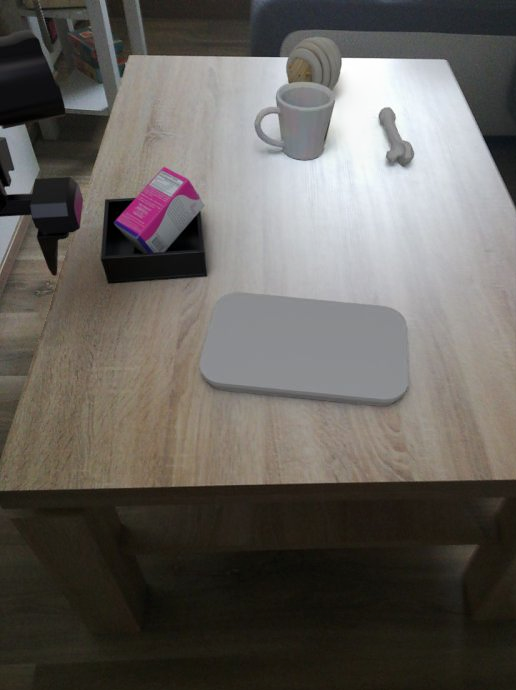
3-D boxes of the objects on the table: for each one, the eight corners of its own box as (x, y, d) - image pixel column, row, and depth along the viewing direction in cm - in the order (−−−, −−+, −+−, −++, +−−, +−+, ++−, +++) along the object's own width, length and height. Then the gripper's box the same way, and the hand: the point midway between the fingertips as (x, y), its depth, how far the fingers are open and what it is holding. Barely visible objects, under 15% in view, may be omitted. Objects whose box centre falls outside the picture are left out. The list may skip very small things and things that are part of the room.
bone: (413, 170, 102) (417, 150, 99) (384, 169, 102) (388, 149, 99) (402, 121, 113) (405, 102, 110) (376, 120, 113) (379, 101, 110)
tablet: (405, 412, 69) (408, 401, 67) (196, 392, 69) (194, 380, 68) (402, 320, 79) (406, 308, 77) (219, 302, 79) (218, 290, 77)
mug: (340, 158, 104) (346, 103, 96) (266, 174, 99) (265, 117, 91) (316, 131, 109) (319, 77, 101) (244, 145, 105) (242, 90, 97)
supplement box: (132, 246, 85) (182, 192, 87) (156, 262, 83) (207, 207, 84) (111, 221, 80) (164, 164, 81) (136, 238, 77) (190, 179, 79)
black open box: (108, 283, 81) (100, 258, 77) (111, 224, 89) (104, 199, 85) (207, 276, 82) (204, 251, 79) (201, 218, 91) (198, 193, 87)
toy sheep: (271, 105, 115) (271, 45, 106) (311, 75, 124) (314, 18, 115) (315, 120, 112) (319, 60, 103) (353, 88, 121) (360, 30, 112)
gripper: (64, 92, 55) (102, 226, 68) (-142, 98, 53) (-63, 236, 65) (53, 152, 49) (97, 288, 61) (-182, 162, 46) (-86, 302, 59)
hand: (11, 276), depth 62 cm, fingers open, 9 cm apart
